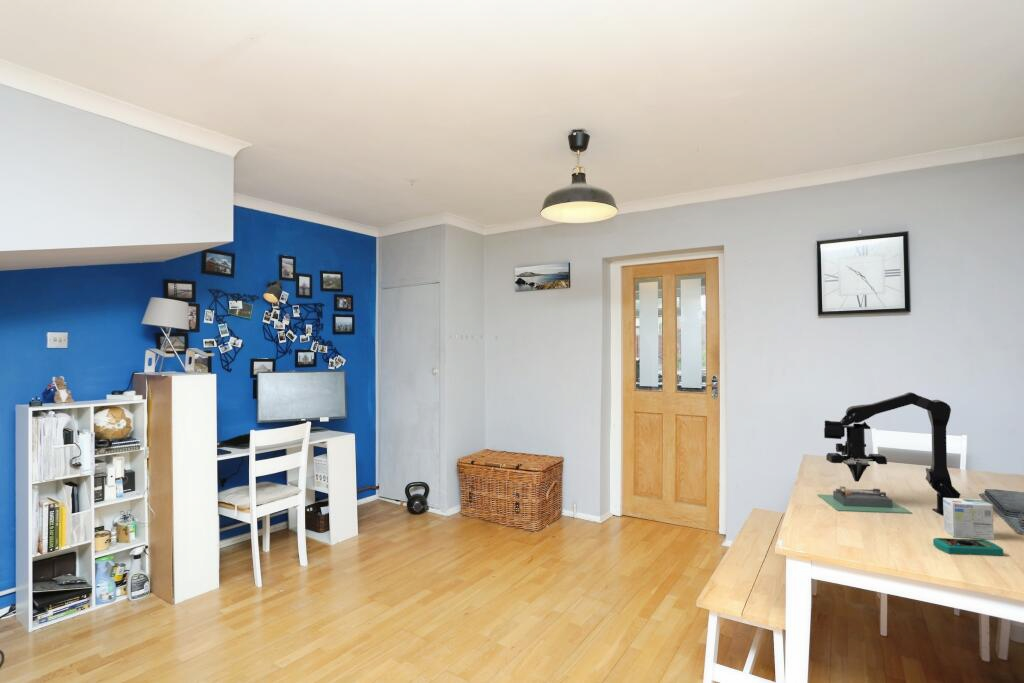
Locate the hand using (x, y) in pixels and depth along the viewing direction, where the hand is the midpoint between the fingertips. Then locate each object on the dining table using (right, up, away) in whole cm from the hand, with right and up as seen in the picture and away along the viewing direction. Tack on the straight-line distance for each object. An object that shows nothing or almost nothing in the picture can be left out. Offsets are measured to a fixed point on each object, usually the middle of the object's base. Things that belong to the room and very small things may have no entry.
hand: (856, 481), depth 200 cm
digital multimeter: (+3, -9, -45) cm, 46 cm away
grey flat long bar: (+1, -4, 0) cm, 5 cm away
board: (+2, -8, 0) cm, 9 cm away
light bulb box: (+13, -8, -33) cm, 37 cm away
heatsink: (+2, -8, 0) cm, 9 cm away
